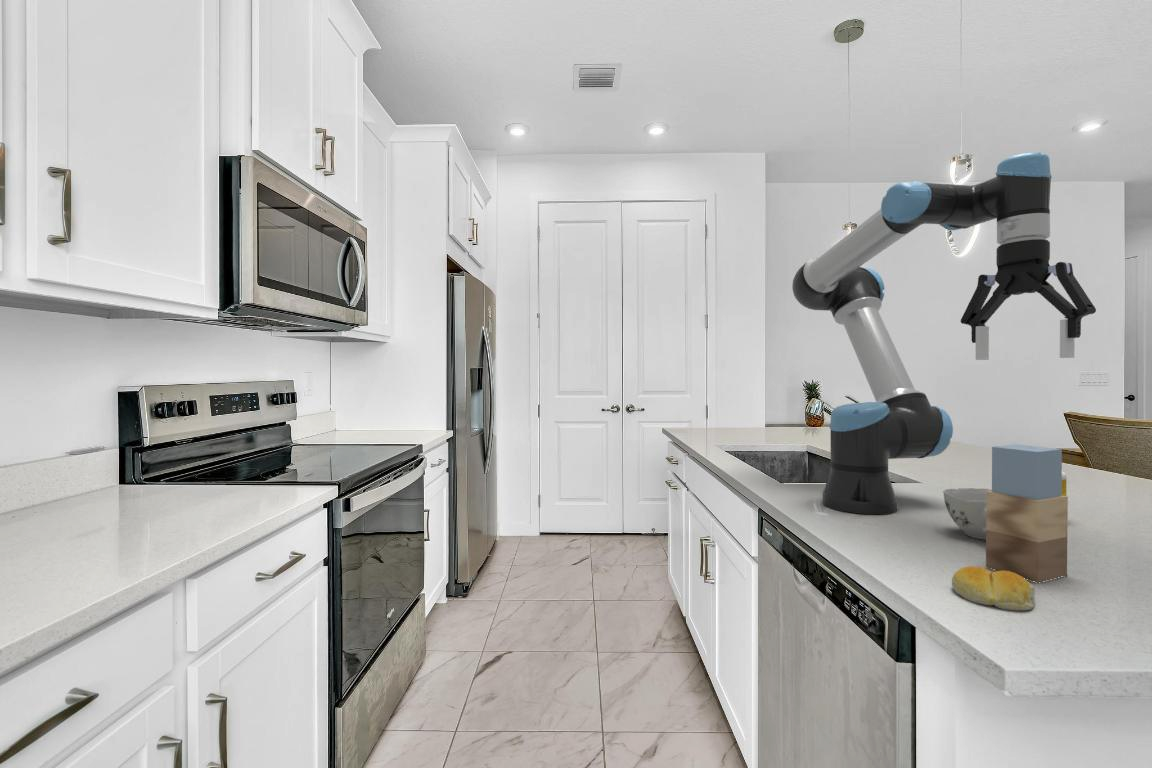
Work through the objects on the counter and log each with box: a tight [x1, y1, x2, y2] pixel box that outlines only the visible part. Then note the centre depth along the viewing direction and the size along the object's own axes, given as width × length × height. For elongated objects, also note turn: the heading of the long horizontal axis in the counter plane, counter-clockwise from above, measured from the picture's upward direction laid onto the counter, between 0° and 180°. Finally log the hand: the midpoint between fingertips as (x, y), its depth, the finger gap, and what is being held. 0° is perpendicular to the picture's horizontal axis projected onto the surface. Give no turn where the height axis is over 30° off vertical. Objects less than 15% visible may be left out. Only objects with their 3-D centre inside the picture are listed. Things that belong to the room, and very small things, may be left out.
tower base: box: [985, 530, 1068, 584], centre depth 82 cm, size 7×7×6 cm
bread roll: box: [951, 565, 1036, 612], centre depth 73 cm, size 8×9×4 cm
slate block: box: [991, 444, 1063, 500], centre depth 82 cm, size 6×6×7 cm
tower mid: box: [986, 491, 1069, 542], centre depth 82 cm, size 7×7×6 cm
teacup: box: [943, 487, 992, 541], centre depth 99 cm, size 15×12×8 cm
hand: (1021, 359), depth 99 cm, fingers open, 13 cm apart
